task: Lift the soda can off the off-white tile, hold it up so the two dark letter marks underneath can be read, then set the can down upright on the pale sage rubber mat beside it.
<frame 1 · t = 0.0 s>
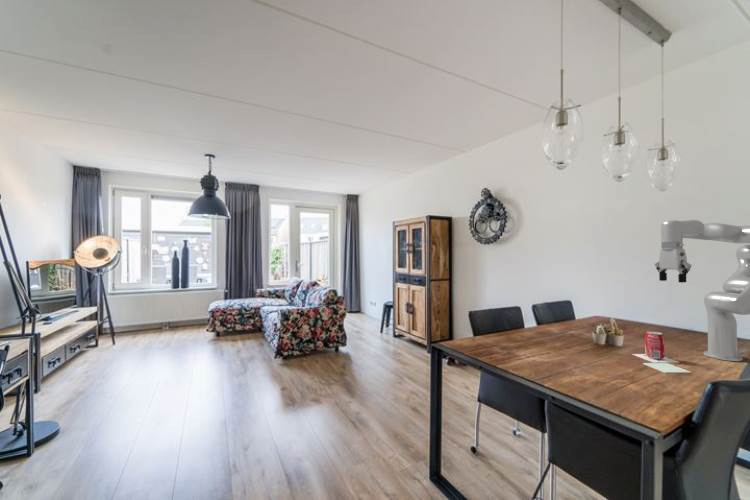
hand: (672, 281, 152), 37 cm above the table, tool pointing down, fingers open, 9 cm apart
soda can: (654, 358, 150), resting on code tile
code tile: (654, 358, 150), on the table
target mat: (666, 368, 137), on the table
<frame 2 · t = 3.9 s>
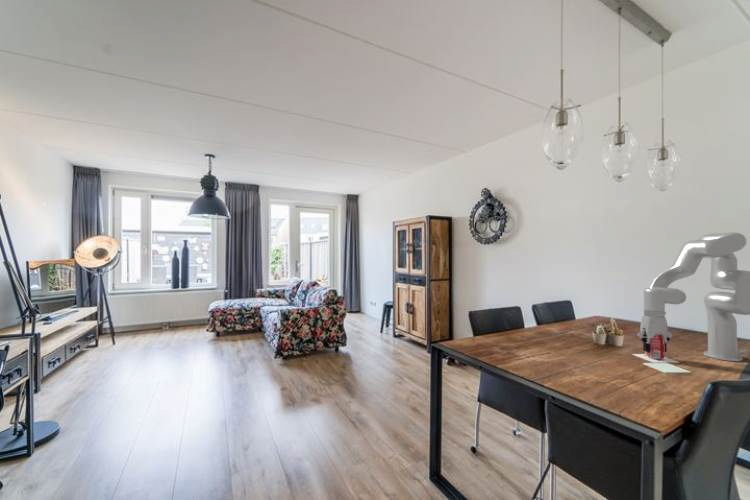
hand: (654, 351, 150), 3 cm above the table, tool pointing down, fingers closed on soda can, 7 cm apart
soda can: (654, 358, 150), resting on code tile, touching gripper
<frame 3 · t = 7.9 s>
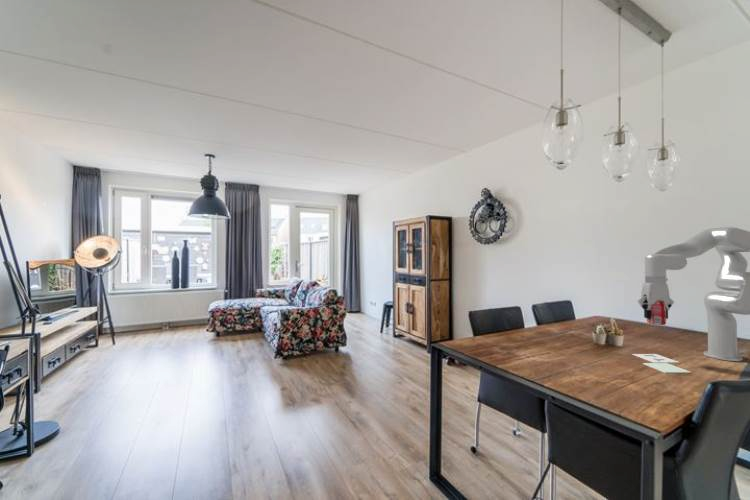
hand: (656, 317, 148), 20 cm above the table, tool pointing down, fingers closed on soda can, 7 cm apart
soda can: (656, 325, 148), point 16 cm above the table, touching gripper
when the fingers open (5 cm above the table, at t = 12.4 s): soda can drops 1 cm, resting on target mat.
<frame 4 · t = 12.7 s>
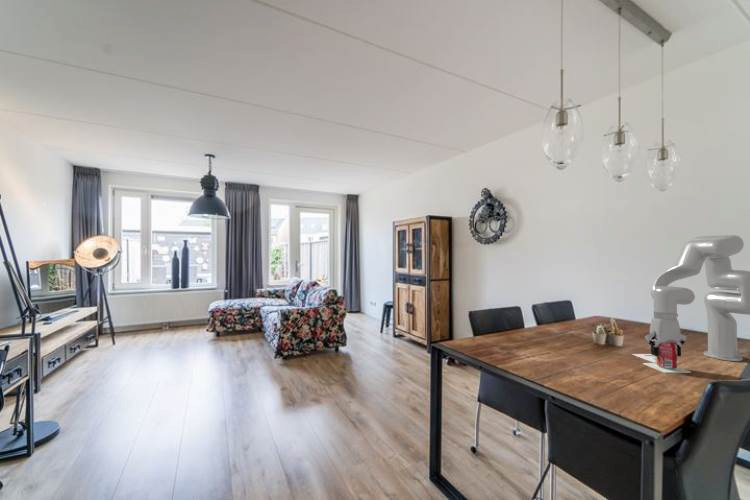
hand: (665, 355, 137), 6 cm above the table, tool pointing down, fingers open, 9 cm apart
soda can: (666, 367, 137), resting on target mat
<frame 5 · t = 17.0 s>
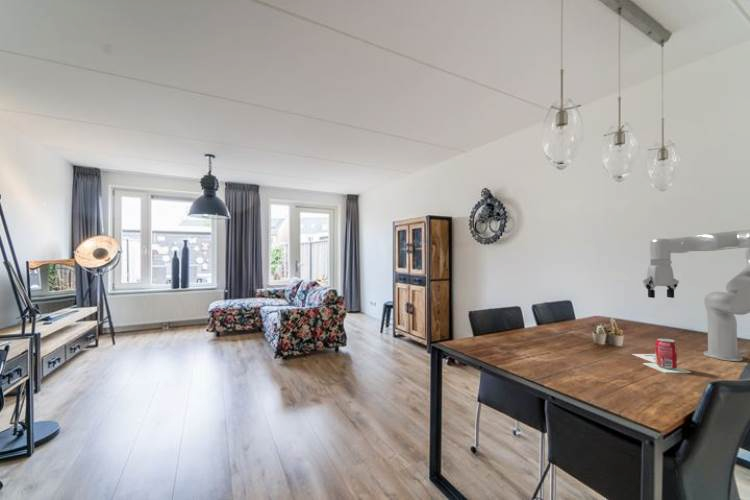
hand: (660, 297, 157), 28 cm above the table, tool pointing down, fingers open, 9 cm apart
nothing on the table moved.
at the end: soda can 0.2 cm off-centre on the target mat, point 0.2 cm above the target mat's base; soda can tilted 0°; the gripper is holding nothing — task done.
